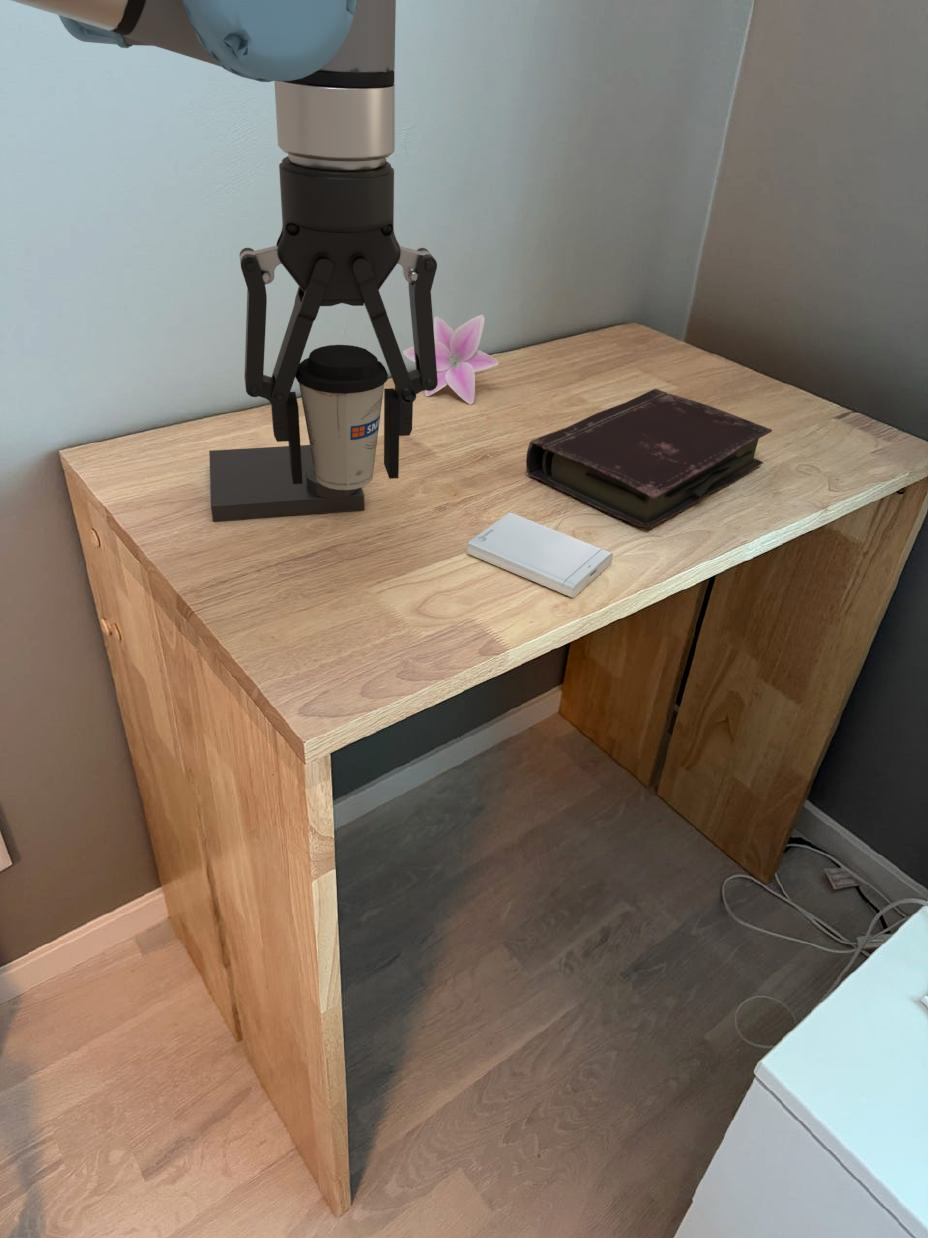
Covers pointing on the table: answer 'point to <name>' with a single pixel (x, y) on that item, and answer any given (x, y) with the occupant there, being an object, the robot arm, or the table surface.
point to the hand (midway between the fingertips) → (344, 472)
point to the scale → (271, 486)
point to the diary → (647, 456)
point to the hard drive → (540, 554)
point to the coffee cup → (342, 413)
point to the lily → (458, 356)
